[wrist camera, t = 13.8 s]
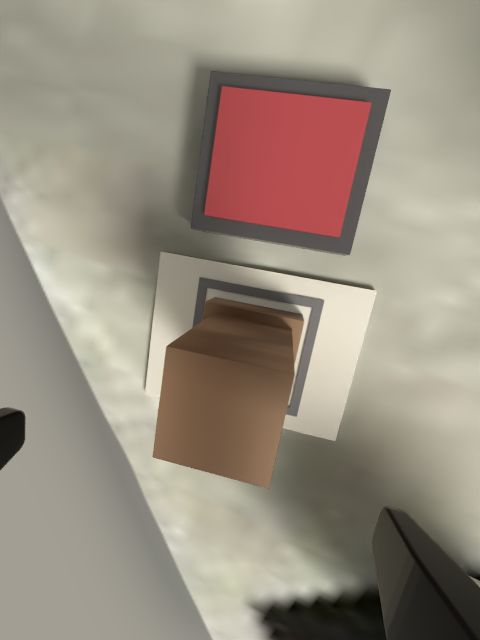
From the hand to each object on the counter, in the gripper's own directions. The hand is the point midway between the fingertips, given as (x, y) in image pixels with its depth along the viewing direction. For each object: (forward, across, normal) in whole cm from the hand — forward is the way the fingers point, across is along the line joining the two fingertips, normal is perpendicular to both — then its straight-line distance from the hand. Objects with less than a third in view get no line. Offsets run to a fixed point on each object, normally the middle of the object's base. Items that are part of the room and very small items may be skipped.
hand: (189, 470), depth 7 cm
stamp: (+10, 0, 0) cm, 10 cm away
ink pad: (+11, 0, -10) cm, 14 cm away
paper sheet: (+11, 0, 0) cm, 11 cm away
